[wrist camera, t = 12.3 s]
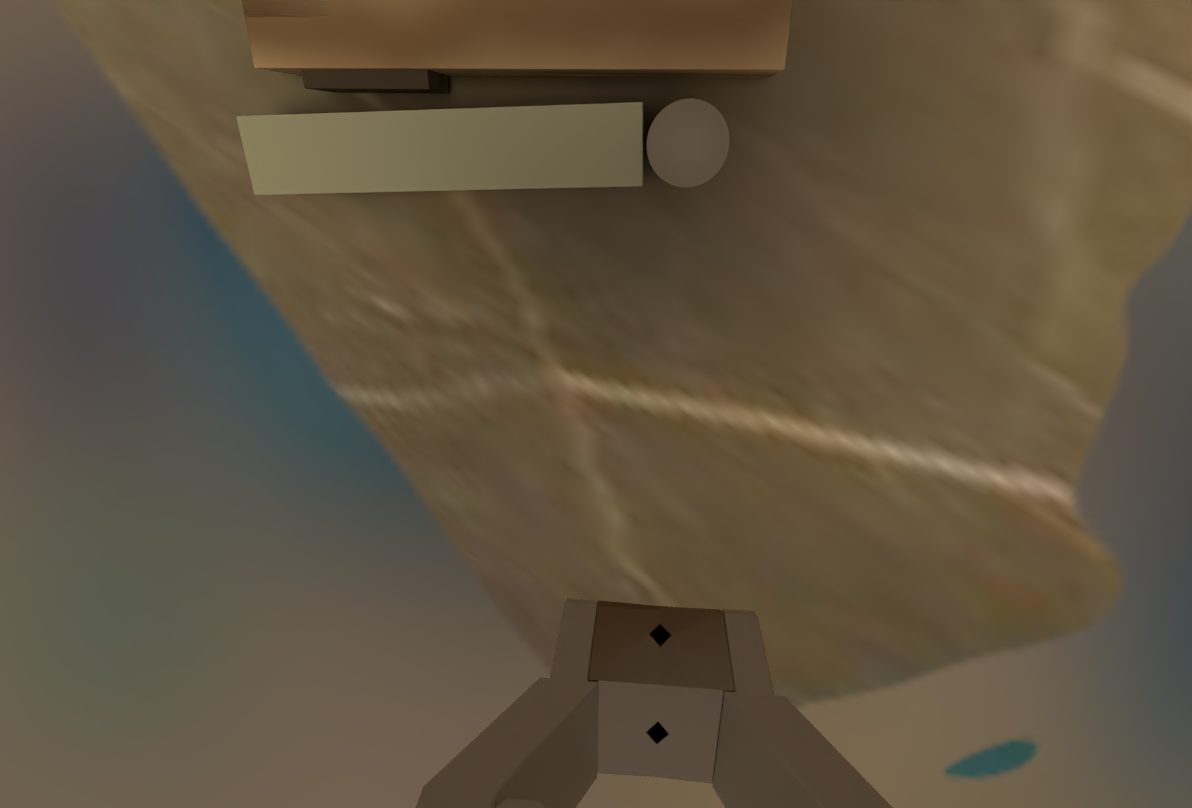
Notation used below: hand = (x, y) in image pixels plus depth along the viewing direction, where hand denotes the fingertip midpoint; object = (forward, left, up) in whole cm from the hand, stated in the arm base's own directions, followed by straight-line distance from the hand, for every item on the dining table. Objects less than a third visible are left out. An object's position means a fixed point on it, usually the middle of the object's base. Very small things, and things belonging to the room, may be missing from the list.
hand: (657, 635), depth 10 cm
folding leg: (-7, -9, -27) cm, 29 cm away
